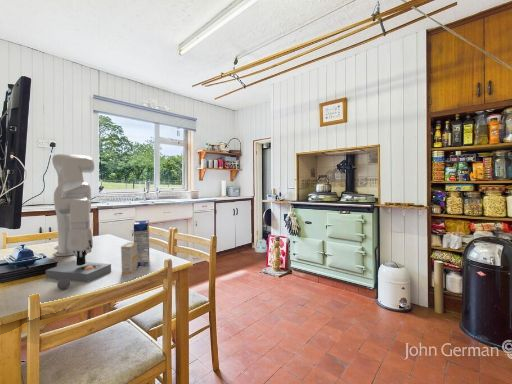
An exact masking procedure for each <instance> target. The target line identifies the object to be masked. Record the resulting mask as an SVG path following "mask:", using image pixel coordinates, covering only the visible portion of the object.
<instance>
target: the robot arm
mask: <svg viewBox="0 0 512 384" xmlns="http://www.w3.org/2000/svg"><path fill="white" fill-rule="evenodd" d="M51 161H52V164H53V165H52V166H53V168H54V170H55V172H56V174H57V187H56V188H55V189H54V193H53V203H54V204H53V205H54V210H55V214H56V222H57V244H58V245H56V246H55V247H53V248H54V250H56V252H55V253H54V255H55V256H56V257H69V256H75V257H76V261H77V265H79V266H81V265H84V264H85V262H86V256H87V254H89V253H92V249H93V246H94V245H93V244H94V242H93V233H92V229H91V226H90V223H91V222H90V221H91V220H90V213H91V210H92V189H91V186H90V183H87V182H84V176H83V173H93V172H95V171H94V170H95V162H94V160H93V158H92V157H91V156H89V155H84V154H83V155H82V154H67V153H65V154H64V153H61V154H60V153H58V154H55V155H53V156H52V159H51Z"/></svg>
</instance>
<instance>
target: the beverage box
mask: <svg viewBox="0 0 512 384" xmlns="http://www.w3.org/2000/svg"><path fill="white" fill-rule="evenodd" d="M133 242H137V264H138V267H137V268H140V267H139V266H143V267H149V266H150V220H135V221H134V223H133Z"/></svg>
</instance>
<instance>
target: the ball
mask: <svg viewBox="0 0 512 384" xmlns="http://www.w3.org/2000/svg"><path fill="white" fill-rule="evenodd" d="M71 283H72V281H70V280H69V279H67V278H63V279H58V282H57V284H56V288H58V289H59V290H66V289H67V290H68V288H70V286H71Z"/></svg>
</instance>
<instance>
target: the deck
mask: <svg viewBox="0 0 512 384" xmlns="http://www.w3.org/2000/svg"><path fill="white" fill-rule="evenodd" d="M88 266H93V267H94V269H90V270H84V269H85V268H86V267H88ZM110 272H112V264H111V263H104V262H102V263H101V262H89V261H85V264H84V265H81V266H79V265H77V260H70V261H68V262H66V263H63V264H61V265H57V266H54V267H51V268H48V269H45V279H52V280H53V279H54V280H61V279H63V278H67V279H69V280H70V282H82V283H88V282H89V283H90V282H91V281H93V280H95V279H98V278H100V277H102V276H104V275H106V274H108V273H110Z"/></svg>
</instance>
